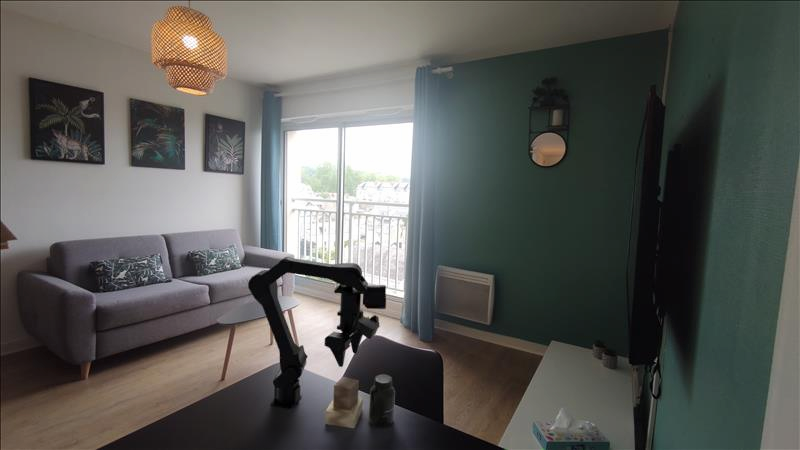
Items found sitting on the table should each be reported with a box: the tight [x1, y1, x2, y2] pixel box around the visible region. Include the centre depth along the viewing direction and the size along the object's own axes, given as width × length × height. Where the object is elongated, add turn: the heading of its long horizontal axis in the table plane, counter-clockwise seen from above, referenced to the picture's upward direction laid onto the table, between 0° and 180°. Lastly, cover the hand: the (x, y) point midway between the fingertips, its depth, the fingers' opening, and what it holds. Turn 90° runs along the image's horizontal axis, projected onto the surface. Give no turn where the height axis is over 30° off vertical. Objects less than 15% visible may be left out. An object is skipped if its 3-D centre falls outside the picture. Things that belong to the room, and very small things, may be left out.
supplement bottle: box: [368, 374, 396, 428], centre depth 98 cm, size 7×7×12 cm
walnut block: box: [332, 376, 360, 411], centre depth 99 cm, size 5×5×6 cm
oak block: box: [325, 397, 364, 429], centre depth 99 cm, size 8×8×4 cm
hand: (348, 359), depth 105 cm, fingers open, 9 cm apart
